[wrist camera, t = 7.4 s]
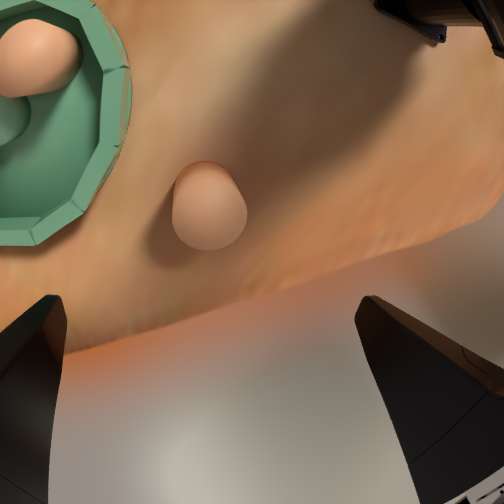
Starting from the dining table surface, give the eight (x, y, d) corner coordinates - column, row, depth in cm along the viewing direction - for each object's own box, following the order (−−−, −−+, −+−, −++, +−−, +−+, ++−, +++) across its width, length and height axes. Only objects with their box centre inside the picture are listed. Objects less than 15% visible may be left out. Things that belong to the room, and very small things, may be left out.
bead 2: (237, 163, 17) (252, 183, 14) (230, 219, 19) (242, 251, 16) (175, 159, 16) (173, 179, 13) (172, 217, 18) (171, 250, 15)
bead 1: (60, 19, 10) (28, 5, 6) (95, 56, 11) (70, 48, 8) (17, 68, 10) (-22, 69, 7) (50, 105, 12) (15, 113, 9)
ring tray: (150, -18, 10) (146, -34, 8) (129, 227, 18) (123, 248, 15) (-49, 30, 6) (-71, 29, 4) (-44, 229, 14) (-62, 246, 12)
